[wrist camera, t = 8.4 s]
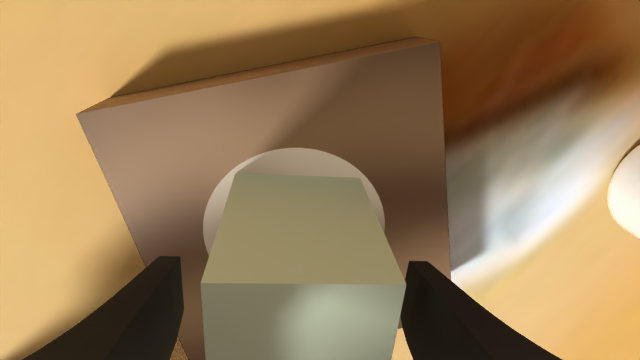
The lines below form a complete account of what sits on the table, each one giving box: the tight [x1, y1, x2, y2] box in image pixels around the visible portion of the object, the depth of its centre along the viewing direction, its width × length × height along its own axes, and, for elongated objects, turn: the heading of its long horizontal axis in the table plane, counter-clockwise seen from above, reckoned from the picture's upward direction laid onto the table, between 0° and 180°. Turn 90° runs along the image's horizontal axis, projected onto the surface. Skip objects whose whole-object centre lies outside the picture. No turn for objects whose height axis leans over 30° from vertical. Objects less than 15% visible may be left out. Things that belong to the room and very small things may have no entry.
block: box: [201, 173, 406, 360], centre depth 12 cm, size 4×4×6 cm
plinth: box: [76, 37, 451, 360], centre depth 16 cm, size 12×12×3 cm
